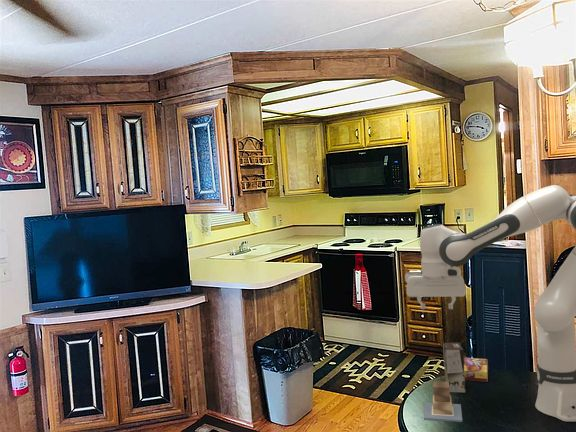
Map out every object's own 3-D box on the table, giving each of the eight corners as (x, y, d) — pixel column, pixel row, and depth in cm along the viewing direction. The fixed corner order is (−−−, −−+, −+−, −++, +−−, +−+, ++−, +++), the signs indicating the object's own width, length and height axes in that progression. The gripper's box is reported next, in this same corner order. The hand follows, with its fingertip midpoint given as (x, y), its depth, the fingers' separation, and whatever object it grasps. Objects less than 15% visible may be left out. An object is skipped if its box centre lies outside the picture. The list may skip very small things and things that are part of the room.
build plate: (460, 406, 169) (460, 404, 169) (462, 422, 157) (462, 419, 157) (424, 404, 172) (424, 402, 172) (423, 419, 161) (423, 417, 161)
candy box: (487, 383, 187) (488, 368, 201) (486, 372, 186) (487, 358, 200) (463, 381, 190) (465, 366, 204) (462, 370, 190) (464, 356, 204)
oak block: (451, 407, 167) (451, 395, 166) (452, 415, 161) (451, 403, 161) (433, 406, 168) (432, 394, 168) (433, 413, 163) (432, 402, 162)
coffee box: (466, 392, 179) (463, 349, 178) (448, 392, 180) (445, 349, 180) (462, 383, 188) (459, 341, 187) (445, 383, 189) (442, 342, 189)
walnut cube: (449, 396, 166) (449, 381, 166) (450, 402, 161) (449, 387, 161) (434, 395, 168) (433, 381, 167) (434, 401, 163) (433, 386, 163)
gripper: (403, 272, 172) (406, 310, 173) (465, 271, 166) (467, 311, 167) (405, 269, 178) (407, 306, 179) (464, 268, 172) (466, 306, 173)
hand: (436, 308), depth 173 cm, fingers open, 8 cm apart
